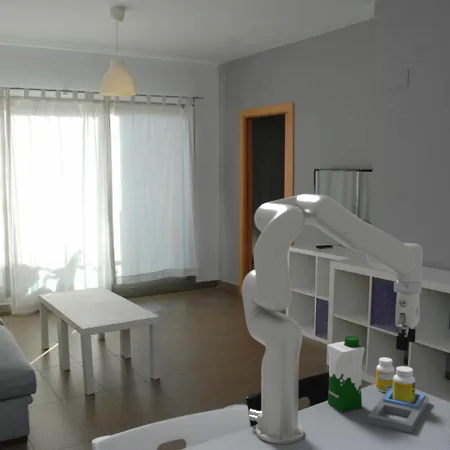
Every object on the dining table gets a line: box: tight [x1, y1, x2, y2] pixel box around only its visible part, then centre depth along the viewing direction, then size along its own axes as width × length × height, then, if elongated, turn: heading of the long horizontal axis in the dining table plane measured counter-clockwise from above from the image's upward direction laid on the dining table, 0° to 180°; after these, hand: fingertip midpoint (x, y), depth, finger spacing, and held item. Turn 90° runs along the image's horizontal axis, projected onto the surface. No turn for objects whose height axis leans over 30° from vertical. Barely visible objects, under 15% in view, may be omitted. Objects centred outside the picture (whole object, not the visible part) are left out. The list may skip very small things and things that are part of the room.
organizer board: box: [367, 388, 430, 434], centre depth 158 cm, size 12×22×3 cm, turn 149°
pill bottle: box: [393, 365, 416, 404], centre depth 162 cm, size 6×6×11 cm
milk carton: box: [327, 335, 366, 413], centre depth 162 cm, size 9×9×20 cm
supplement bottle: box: [375, 356, 395, 393], centre depth 174 cm, size 5×5×10 cm
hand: (405, 345), depth 161 cm, fingers open, 8 cm apart
